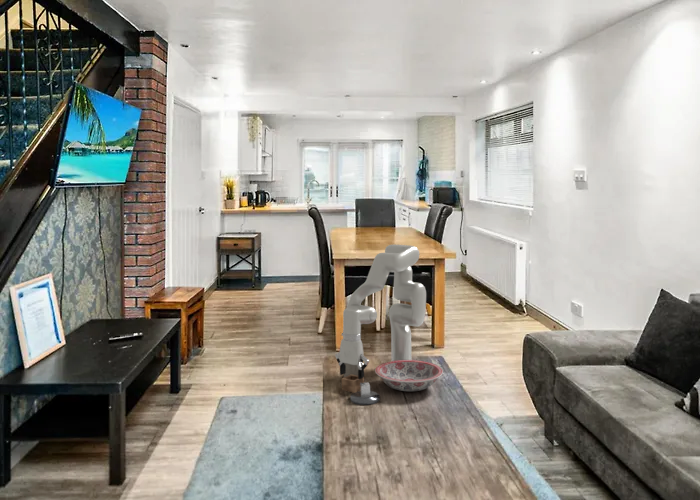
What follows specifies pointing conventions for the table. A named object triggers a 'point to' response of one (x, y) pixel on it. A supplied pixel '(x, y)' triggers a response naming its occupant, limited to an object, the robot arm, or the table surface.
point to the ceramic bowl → (408, 374)
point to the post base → (365, 400)
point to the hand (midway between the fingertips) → (351, 376)
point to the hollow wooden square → (351, 383)
